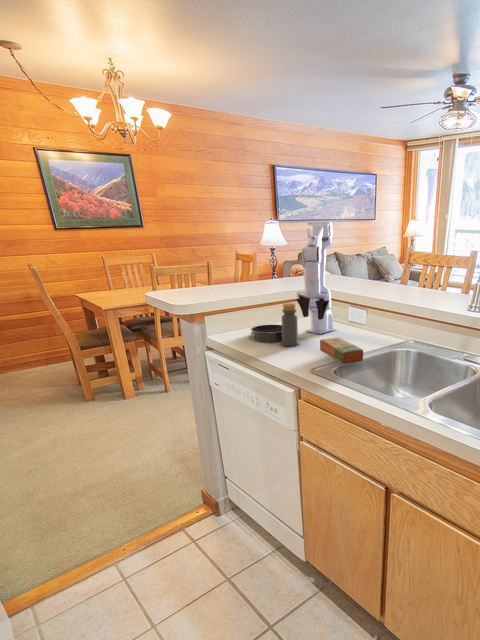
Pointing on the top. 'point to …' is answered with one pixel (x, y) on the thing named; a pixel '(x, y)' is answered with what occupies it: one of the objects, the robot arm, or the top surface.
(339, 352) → the carton
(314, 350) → the top surface
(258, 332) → the pan
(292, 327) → the bottle
